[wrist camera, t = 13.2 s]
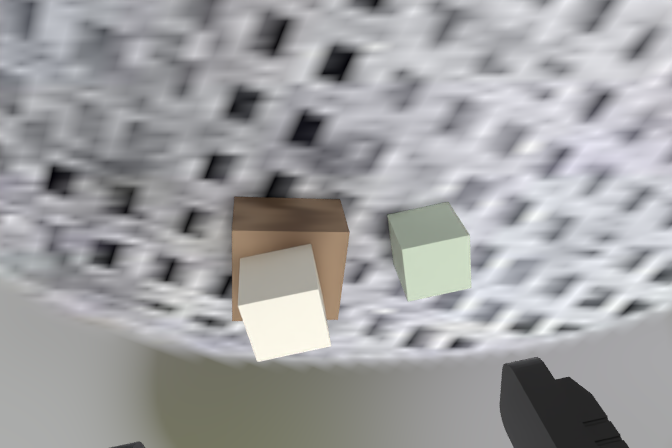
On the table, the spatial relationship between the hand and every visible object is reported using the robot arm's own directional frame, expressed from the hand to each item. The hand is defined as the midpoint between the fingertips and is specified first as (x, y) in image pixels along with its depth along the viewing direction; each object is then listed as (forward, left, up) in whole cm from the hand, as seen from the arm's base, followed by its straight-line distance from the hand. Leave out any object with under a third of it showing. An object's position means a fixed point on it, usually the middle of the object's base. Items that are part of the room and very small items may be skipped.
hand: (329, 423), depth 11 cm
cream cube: (-3, -13, -22) cm, 26 cm away
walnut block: (-2, -13, -27) cm, 30 cm away
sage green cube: (+8, -15, -27) cm, 32 cm away
